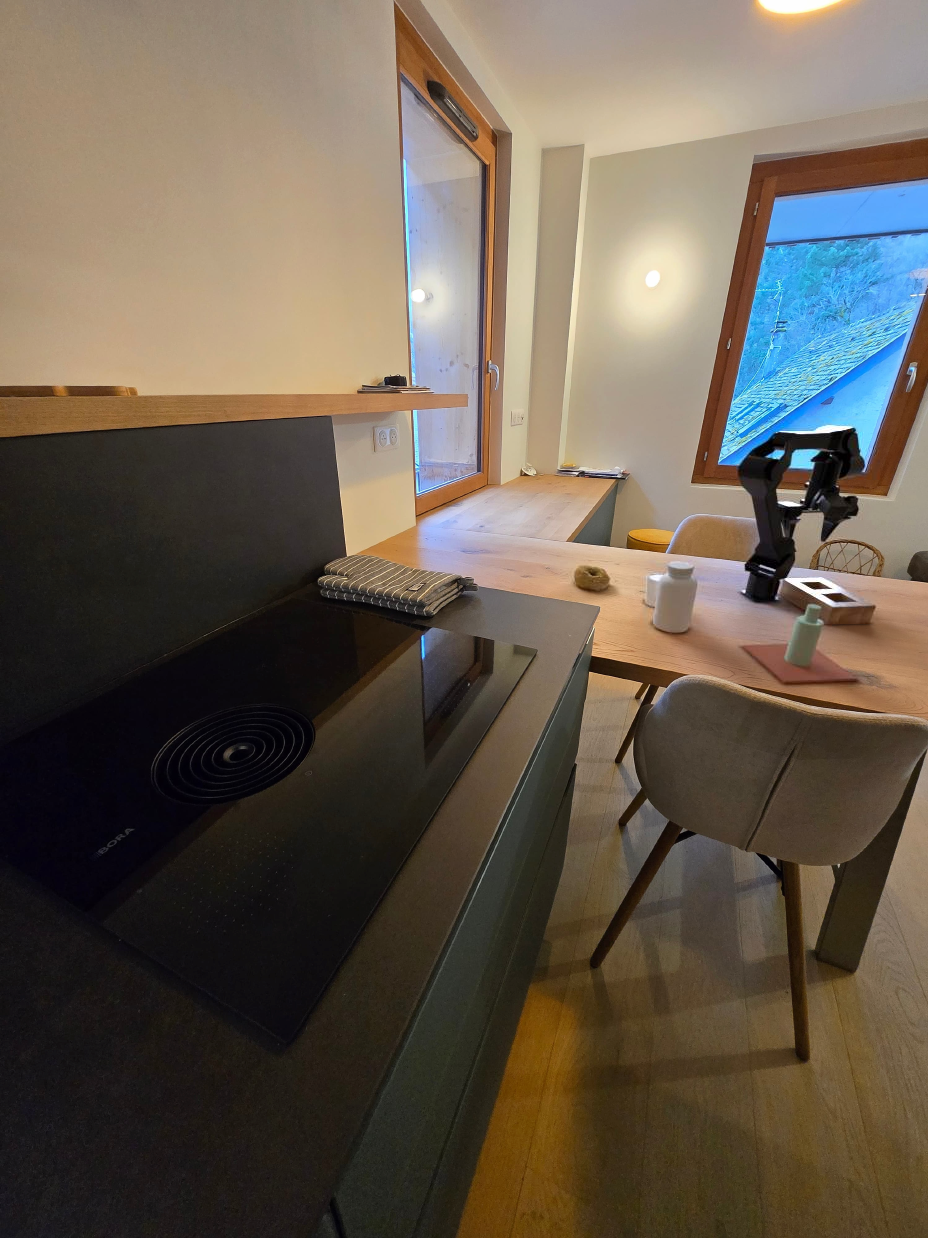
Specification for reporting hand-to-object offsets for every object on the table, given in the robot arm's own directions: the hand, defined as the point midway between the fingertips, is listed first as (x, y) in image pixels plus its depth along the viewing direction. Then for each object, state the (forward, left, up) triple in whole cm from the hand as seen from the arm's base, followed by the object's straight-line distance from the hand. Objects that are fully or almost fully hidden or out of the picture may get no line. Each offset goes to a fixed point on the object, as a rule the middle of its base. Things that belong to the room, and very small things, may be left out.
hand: (805, 542), depth 128 cm
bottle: (-24, -38, -12) cm, 47 cm away
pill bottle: (-42, -20, -13) cm, 48 cm away
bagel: (-53, +7, -13) cm, 55 cm away
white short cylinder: (-40, -7, -13) cm, 43 cm away
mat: (-24, -38, -13) cm, 47 cm away
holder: (-1, -13, -13) cm, 18 cm away
